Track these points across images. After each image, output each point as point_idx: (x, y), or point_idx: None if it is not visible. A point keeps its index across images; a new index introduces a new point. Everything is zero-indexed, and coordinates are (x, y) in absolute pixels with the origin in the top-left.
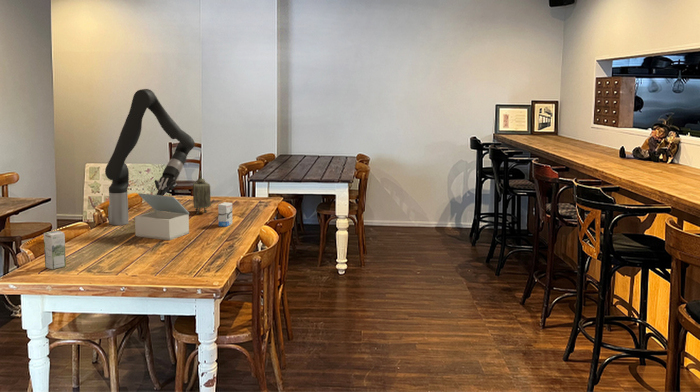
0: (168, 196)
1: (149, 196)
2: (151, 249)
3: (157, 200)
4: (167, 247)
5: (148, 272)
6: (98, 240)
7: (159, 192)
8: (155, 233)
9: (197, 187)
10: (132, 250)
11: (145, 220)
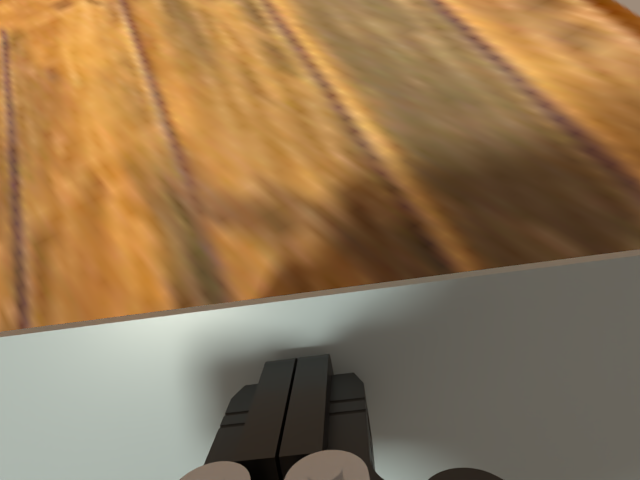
0: (3, 335)
1: (483, 320)
2: (184, 200)
3: (392, 466)
4: (125, 267)
5: (36, 34)
6: (597, 169)
7: (279, 400)
8: None
9: None
10: (258, 145)
11: None
